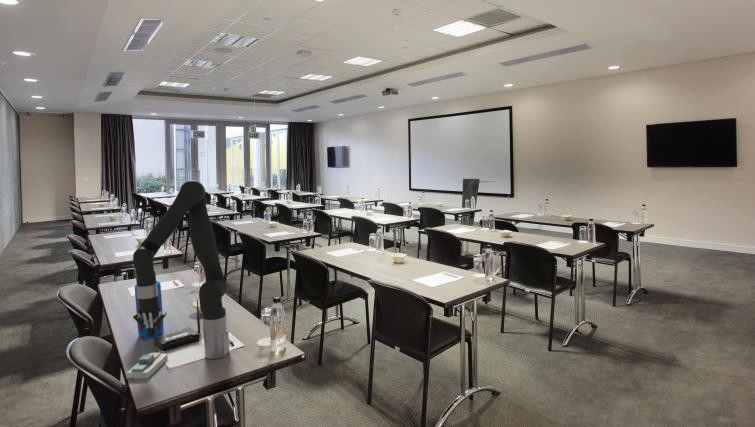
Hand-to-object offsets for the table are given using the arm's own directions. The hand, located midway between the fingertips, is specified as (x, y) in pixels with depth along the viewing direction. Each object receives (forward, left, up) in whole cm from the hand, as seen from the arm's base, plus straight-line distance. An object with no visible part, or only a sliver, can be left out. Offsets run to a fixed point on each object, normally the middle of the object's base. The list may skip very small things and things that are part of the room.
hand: (151, 336), depth 176 cm
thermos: (+16, -29, -12) cm, 35 cm away
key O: (0, +10, -11) cm, 15 cm away
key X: (0, +5, -10) cm, 11 cm away
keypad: (0, +5, -12) cm, 13 cm away
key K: (0, 0, -11) cm, 11 cm away
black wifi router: (-2, -21, -12) cm, 24 cm away
